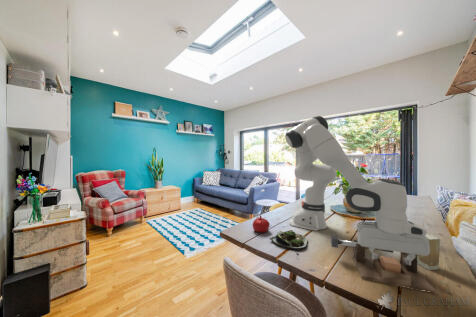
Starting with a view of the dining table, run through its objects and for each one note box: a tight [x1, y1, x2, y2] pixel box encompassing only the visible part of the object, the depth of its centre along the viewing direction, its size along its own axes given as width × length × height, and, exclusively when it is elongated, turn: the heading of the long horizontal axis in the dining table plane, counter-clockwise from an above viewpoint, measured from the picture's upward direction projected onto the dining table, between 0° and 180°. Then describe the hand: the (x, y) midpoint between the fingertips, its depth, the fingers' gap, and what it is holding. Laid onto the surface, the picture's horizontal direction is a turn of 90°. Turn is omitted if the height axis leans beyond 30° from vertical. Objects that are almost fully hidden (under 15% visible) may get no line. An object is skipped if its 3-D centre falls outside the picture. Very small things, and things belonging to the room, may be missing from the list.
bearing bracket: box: [351, 239, 437, 294], centre depth 66 cm, size 20×14×8 cm
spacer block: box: [379, 255, 401, 274], centre depth 64 cm, size 4×4×5 cm
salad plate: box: [269, 229, 308, 251], centre depth 93 cm, size 19×18×5 cm
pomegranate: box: [252, 214, 271, 234], centre depth 104 cm, size 10×10×9 cm
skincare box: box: [417, 233, 441, 271], centre depth 70 cm, size 6×4×12 cm
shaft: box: [330, 234, 394, 254], centre depth 73 cm, size 21×4×4 cm, turn 68°
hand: (390, 261), depth 64 cm, fingers open, 8 cm apart
